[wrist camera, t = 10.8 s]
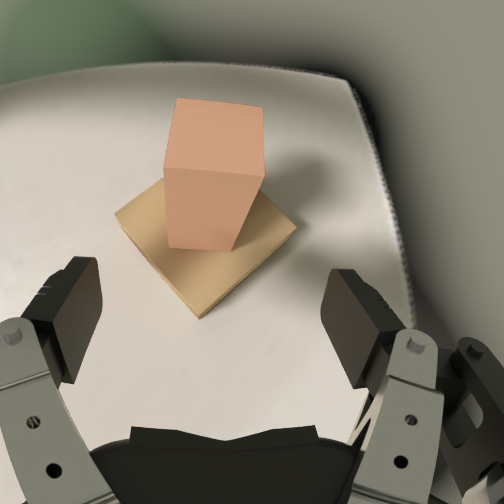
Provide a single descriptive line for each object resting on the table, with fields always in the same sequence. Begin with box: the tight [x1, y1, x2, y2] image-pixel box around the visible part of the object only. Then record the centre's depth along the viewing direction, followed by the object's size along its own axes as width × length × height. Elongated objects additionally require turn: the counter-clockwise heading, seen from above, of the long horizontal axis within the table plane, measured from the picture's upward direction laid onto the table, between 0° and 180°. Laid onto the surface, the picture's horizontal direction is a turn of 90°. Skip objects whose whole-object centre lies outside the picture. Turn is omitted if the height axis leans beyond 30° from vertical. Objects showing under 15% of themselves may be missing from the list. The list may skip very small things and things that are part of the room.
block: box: [164, 98, 265, 252], centre depth 17 cm, size 4×4×9 cm
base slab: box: [115, 178, 297, 319], centre depth 23 cm, size 9×9×3 cm
